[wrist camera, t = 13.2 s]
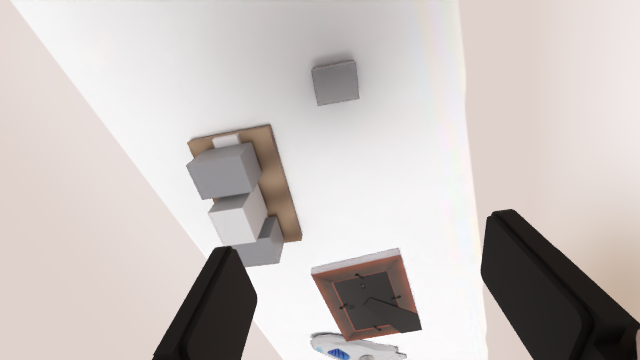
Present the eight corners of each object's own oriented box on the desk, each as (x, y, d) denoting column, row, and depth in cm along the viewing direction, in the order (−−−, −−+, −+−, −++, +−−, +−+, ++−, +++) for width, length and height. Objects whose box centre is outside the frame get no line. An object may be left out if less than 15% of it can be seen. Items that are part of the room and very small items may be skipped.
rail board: (192, 139, 38) (183, 145, 36) (270, 124, 37) (266, 129, 34) (237, 243, 47) (233, 253, 45) (302, 234, 46) (300, 244, 43)
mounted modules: (203, 150, 36) (185, 165, 32) (251, 141, 35) (239, 156, 31) (244, 245, 44) (234, 268, 40) (284, 240, 43) (278, 263, 39)
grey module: (225, 186, 39) (205, 213, 33) (256, 180, 38) (242, 207, 32) (238, 216, 41) (221, 246, 35) (267, 211, 41) (256, 241, 34)
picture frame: (418, 318, 56) (397, 245, 47) (422, 330, 54) (400, 255, 45) (345, 331, 59) (312, 265, 50) (345, 342, 57) (311, 275, 48)
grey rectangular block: (313, 67, 33) (311, 70, 30) (353, 60, 32) (355, 62, 29) (319, 99, 35) (318, 105, 31) (356, 92, 34) (359, 98, 31)
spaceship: (306, 343, 61) (304, 363, 57) (313, 326, 58) (312, 346, 54) (398, 362, 63) (403, 383, 59) (410, 347, 61) (415, 368, 57)
